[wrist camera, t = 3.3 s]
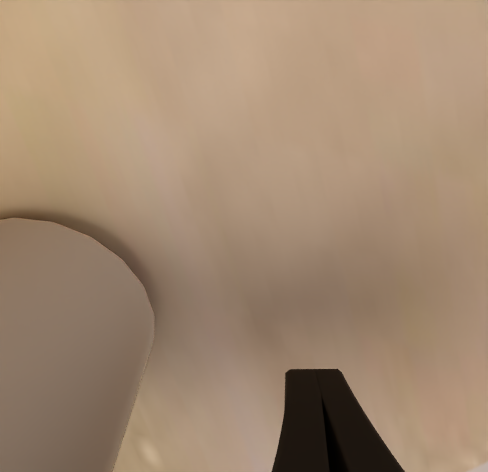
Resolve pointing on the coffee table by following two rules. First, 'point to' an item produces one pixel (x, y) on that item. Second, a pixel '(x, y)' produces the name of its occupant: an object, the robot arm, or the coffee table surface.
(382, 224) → the coffee table surface
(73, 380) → the can
